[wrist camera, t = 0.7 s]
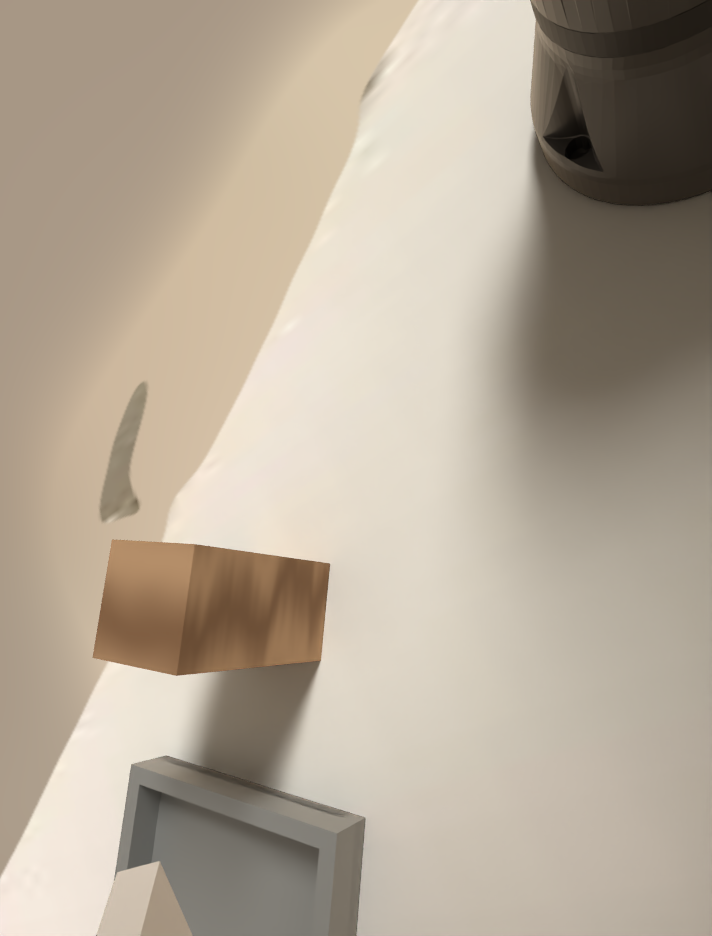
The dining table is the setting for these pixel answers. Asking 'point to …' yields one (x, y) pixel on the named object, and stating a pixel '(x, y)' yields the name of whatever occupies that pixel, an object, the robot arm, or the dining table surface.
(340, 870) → the tray
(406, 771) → the dining table surface
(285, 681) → the dining table surface
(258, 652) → the block
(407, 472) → the dining table surface
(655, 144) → the robot arm
